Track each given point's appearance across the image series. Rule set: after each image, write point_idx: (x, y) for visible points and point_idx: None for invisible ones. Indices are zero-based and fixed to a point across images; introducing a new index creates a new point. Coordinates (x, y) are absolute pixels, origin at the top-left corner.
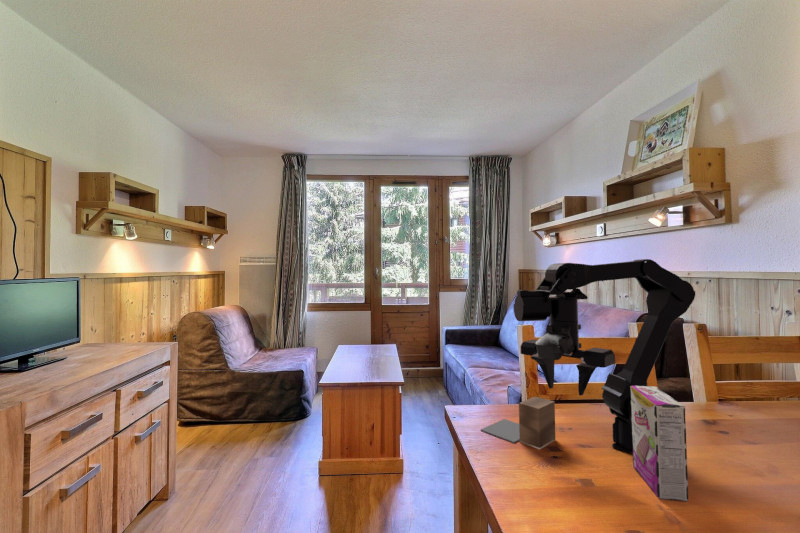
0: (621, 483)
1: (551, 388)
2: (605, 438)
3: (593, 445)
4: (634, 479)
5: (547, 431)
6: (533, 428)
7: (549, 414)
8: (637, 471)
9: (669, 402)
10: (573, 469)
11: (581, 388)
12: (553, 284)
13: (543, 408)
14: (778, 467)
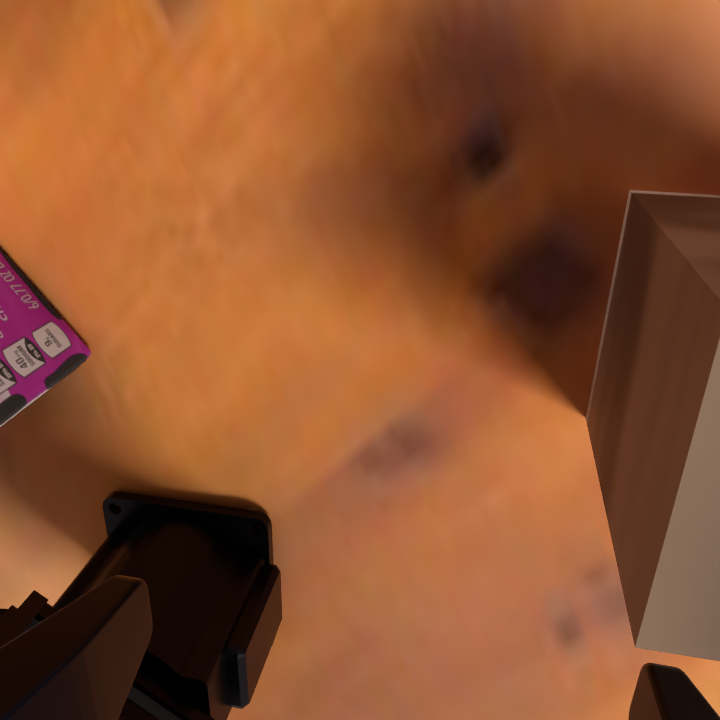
0: (40, 109)
1: (639, 677)
2: (348, 605)
3: (360, 485)
4: (27, 215)
5: (621, 354)
6: None
7: (638, 472)
8: (49, 306)
9: None
10: (306, 60)
11: (9, 646)
12: None
13: (690, 413)
14: None
